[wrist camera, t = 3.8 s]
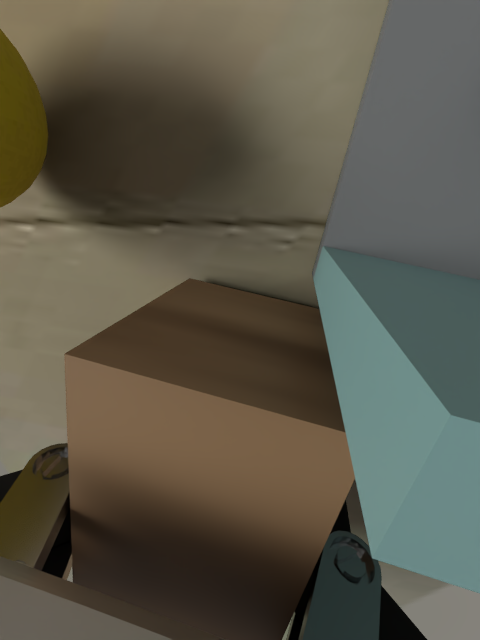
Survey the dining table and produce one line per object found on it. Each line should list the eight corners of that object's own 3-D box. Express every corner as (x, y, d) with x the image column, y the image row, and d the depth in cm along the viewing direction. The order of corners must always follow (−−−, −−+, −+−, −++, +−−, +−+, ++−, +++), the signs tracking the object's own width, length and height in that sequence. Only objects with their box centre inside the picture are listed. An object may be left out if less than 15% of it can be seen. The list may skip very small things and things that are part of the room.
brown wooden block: (189, 278, 10) (64, 354, 5) (332, 312, 10) (372, 440, 4) (163, 481, 14) (75, 655, 9) (267, 514, 14) (243, 722, 8)
